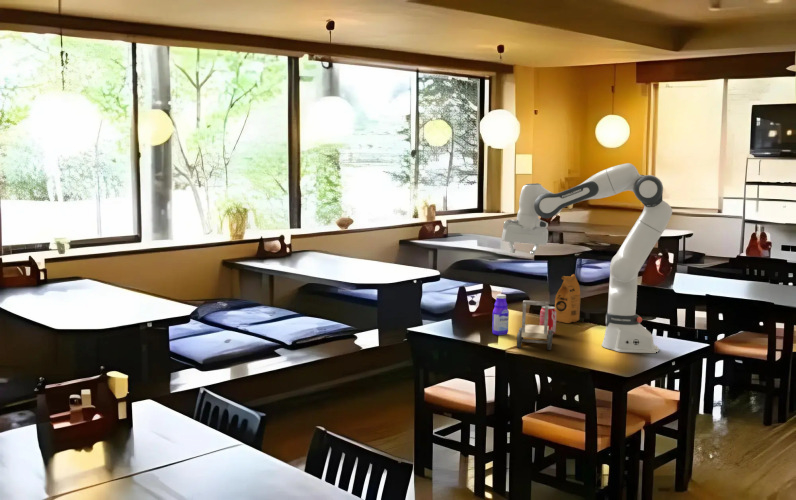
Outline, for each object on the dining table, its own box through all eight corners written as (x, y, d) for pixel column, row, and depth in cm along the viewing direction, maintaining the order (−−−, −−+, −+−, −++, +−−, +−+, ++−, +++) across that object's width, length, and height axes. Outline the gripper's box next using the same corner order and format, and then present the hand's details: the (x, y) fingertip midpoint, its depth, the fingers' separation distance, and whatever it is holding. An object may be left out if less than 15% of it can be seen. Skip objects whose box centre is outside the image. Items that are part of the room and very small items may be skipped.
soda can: (554, 332, 350) (555, 305, 349) (556, 336, 343) (557, 308, 342) (538, 331, 351) (539, 305, 349) (539, 335, 344) (541, 308, 342)
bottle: (498, 336, 339) (500, 296, 337) (489, 334, 344) (490, 294, 342) (510, 334, 344) (512, 295, 342) (500, 332, 348) (502, 293, 346)
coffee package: (550, 320, 376) (552, 275, 374) (564, 317, 385) (566, 273, 383) (568, 324, 370) (570, 277, 367) (582, 320, 379) (584, 275, 376)
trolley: (552, 342, 330) (554, 296, 328) (550, 351, 314) (552, 302, 312) (519, 340, 333) (521, 294, 331) (516, 348, 317) (518, 300, 315)
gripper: (507, 220, 326) (503, 253, 328) (551, 224, 332) (547, 256, 334) (501, 218, 332) (497, 250, 334) (544, 222, 338) (540, 254, 340)
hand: (522, 253), depth 334 cm, fingers open, 8 cm apart
